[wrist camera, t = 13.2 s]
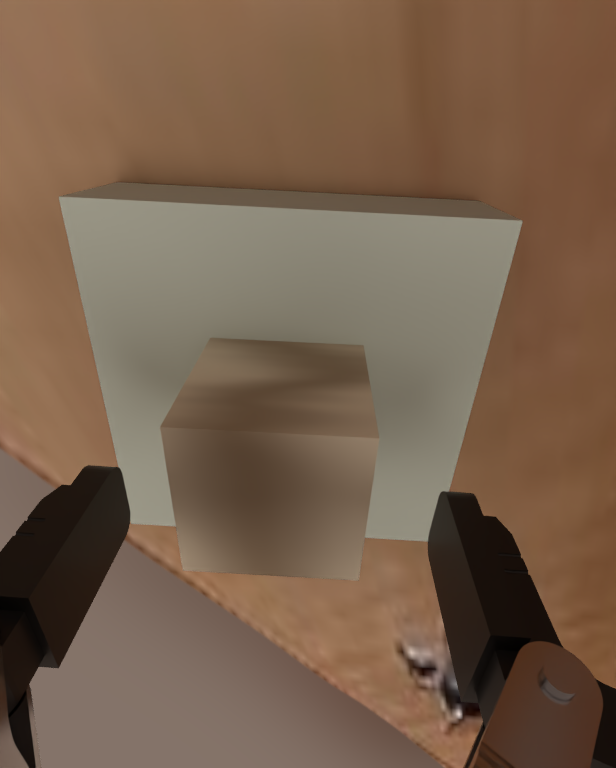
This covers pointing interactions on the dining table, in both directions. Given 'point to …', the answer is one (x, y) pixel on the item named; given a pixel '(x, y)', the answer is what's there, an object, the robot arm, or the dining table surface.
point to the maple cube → (273, 459)
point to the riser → (293, 314)
